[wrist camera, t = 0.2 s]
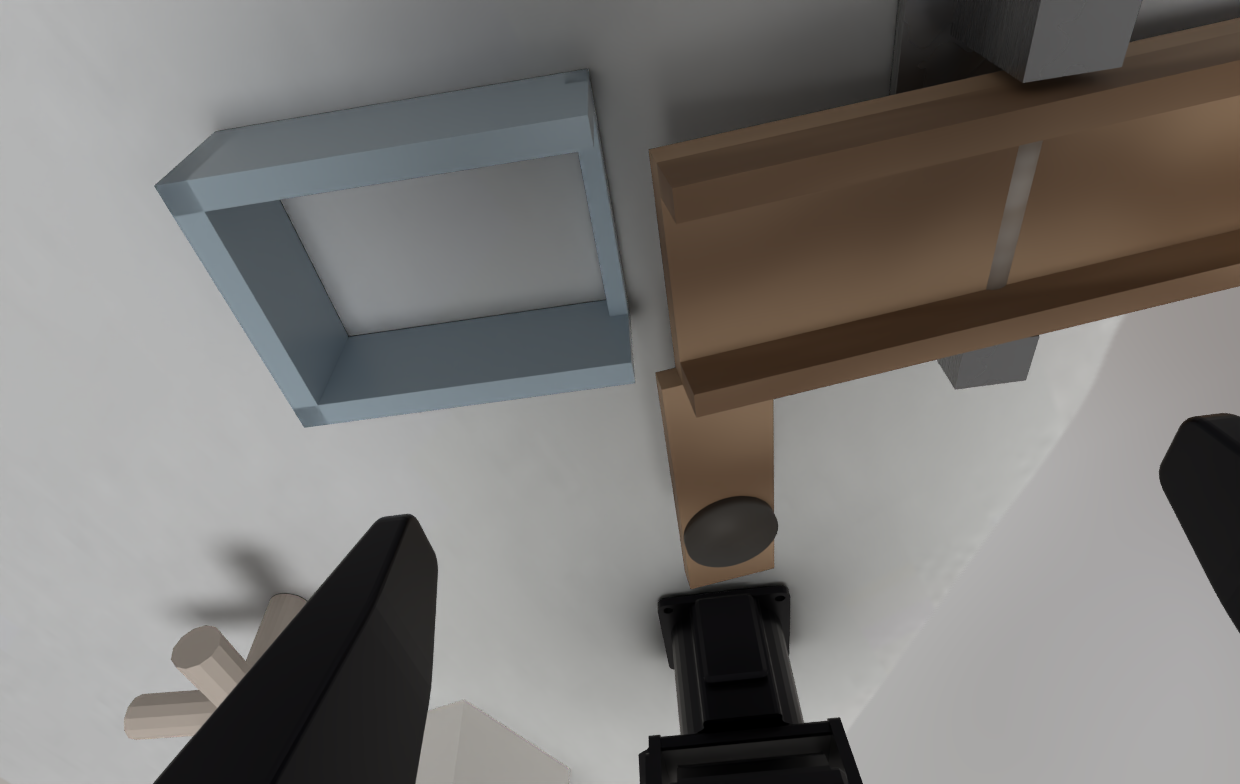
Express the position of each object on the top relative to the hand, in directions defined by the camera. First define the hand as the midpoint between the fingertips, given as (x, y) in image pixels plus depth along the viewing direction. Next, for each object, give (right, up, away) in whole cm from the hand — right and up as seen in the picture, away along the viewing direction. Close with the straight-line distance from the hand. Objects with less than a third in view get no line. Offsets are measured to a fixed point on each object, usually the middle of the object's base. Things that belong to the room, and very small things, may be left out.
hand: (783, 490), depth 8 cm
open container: (-7, +6, +13) cm, 16 cm away
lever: (+10, +3, +13) cm, 17 cm away
